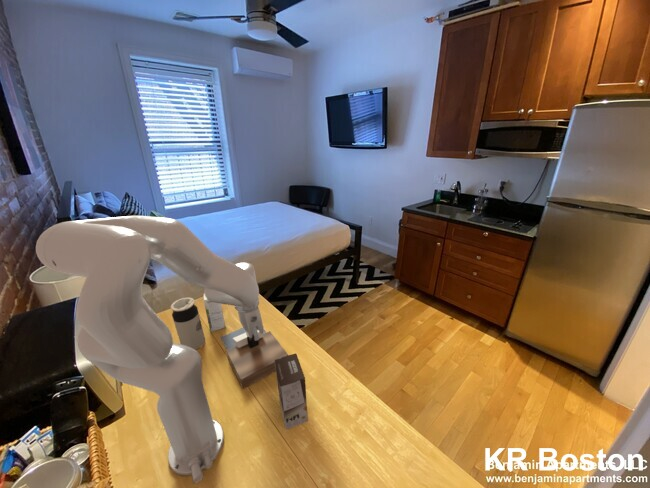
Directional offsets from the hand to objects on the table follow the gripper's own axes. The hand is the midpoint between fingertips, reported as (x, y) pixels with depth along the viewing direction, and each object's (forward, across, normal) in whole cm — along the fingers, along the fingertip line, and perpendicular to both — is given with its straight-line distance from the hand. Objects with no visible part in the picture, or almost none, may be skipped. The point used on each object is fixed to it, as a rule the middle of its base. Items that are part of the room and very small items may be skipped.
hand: (253, 345), depth 93 cm
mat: (+5, +10, 0) cm, 11 cm away
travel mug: (+5, +19, +16) cm, 25 cm away
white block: (+1, +4, 0) cm, 4 cm away
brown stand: (+5, -3, 0) cm, 6 cm away
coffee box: (+5, -25, -1) cm, 26 cm away
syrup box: (+5, +24, +6) cm, 25 cm away
